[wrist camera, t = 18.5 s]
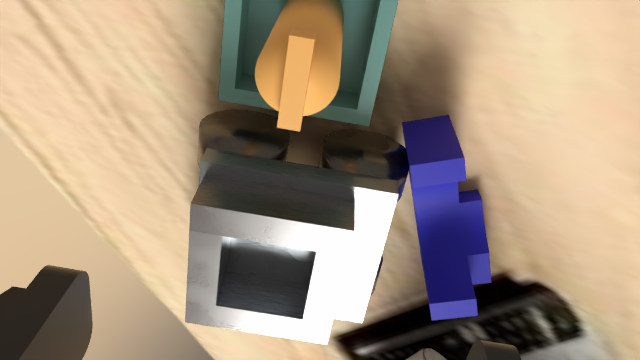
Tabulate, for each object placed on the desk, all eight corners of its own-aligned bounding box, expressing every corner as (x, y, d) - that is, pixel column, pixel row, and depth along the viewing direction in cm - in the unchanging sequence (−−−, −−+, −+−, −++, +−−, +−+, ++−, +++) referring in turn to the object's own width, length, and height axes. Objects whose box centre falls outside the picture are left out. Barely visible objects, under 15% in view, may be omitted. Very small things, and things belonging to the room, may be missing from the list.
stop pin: (350, -12, 30) (347, 45, 21) (337, 56, 32) (330, 136, 23) (287, -24, 30) (256, 29, 21) (278, 45, 32) (246, 122, 23)
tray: (405, -62, 29) (411, -55, 27) (367, 105, 34) (369, 126, 32) (243, -93, 29) (231, -88, 26) (229, 81, 34) (218, 100, 31)
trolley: (407, 138, 35) (424, 226, 27) (374, 259, 41) (379, 365, 32) (211, 104, 35) (164, 182, 26) (203, 230, 40) (162, 330, 32)
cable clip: (482, 255, 40) (501, 313, 35) (422, 263, 41) (431, 320, 36) (471, 109, 34) (492, 153, 29) (401, 121, 35) (409, 165, 30)
